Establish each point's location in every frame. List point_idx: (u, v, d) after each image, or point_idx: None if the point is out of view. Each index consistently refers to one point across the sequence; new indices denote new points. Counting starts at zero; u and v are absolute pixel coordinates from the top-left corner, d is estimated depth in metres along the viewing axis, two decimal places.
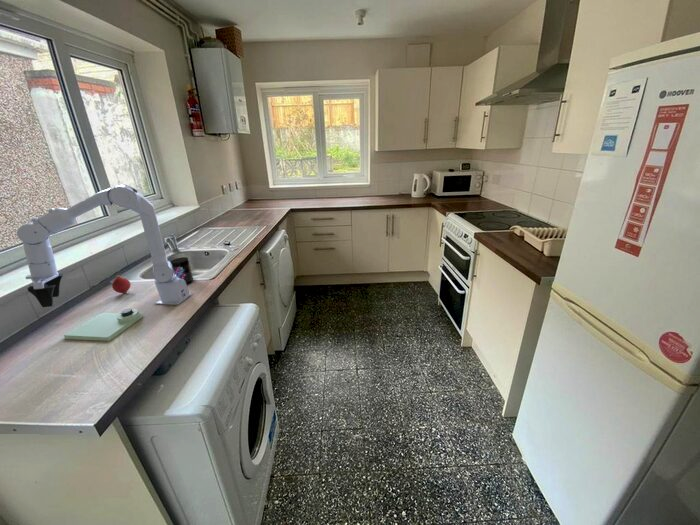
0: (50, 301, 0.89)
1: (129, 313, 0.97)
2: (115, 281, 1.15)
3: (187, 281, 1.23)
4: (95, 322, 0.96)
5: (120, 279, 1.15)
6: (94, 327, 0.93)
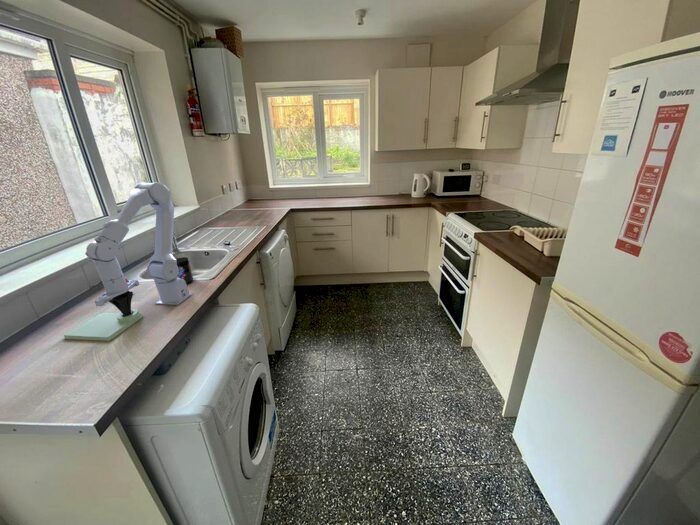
0: (125, 310, 0.96)
1: None
2: None
3: (187, 281, 1.23)
4: (95, 322, 0.96)
5: None
6: (94, 327, 0.93)
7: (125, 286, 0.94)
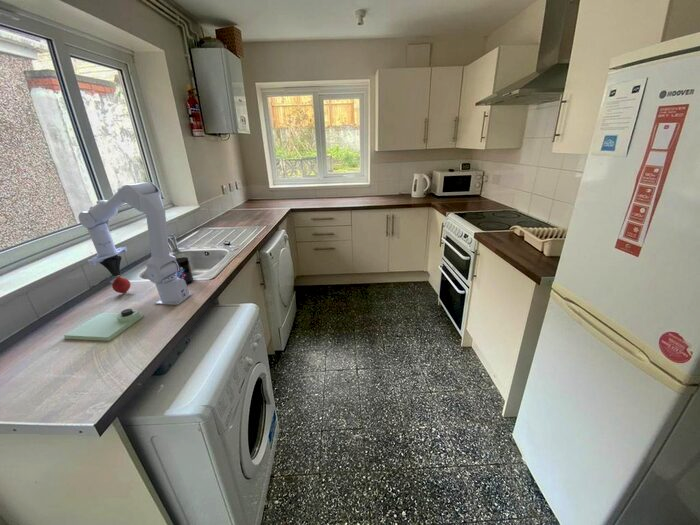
0: (115, 272, 1.11)
1: (129, 313, 0.97)
2: (115, 281, 1.15)
3: (187, 281, 1.23)
4: (95, 322, 0.96)
5: (120, 279, 1.15)
6: (94, 327, 0.93)
7: (114, 250, 1.09)
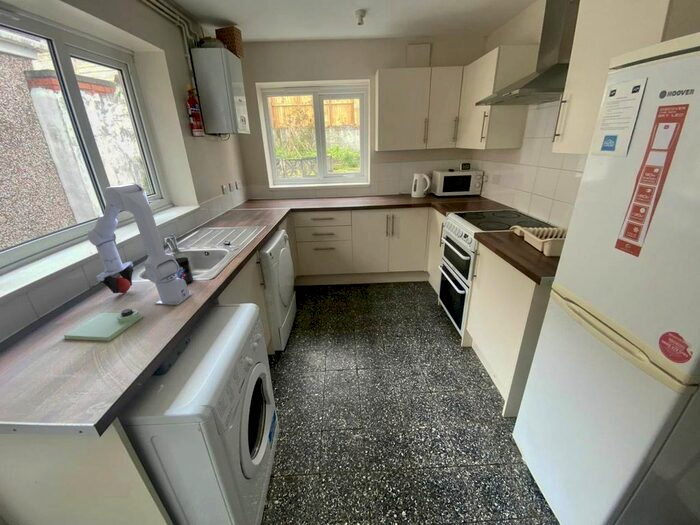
0: (115, 289, 1.14)
1: (129, 313, 0.97)
2: None
3: (187, 281, 1.23)
4: (95, 322, 0.96)
5: (120, 279, 1.15)
6: (94, 327, 0.93)
7: (121, 266, 1.14)
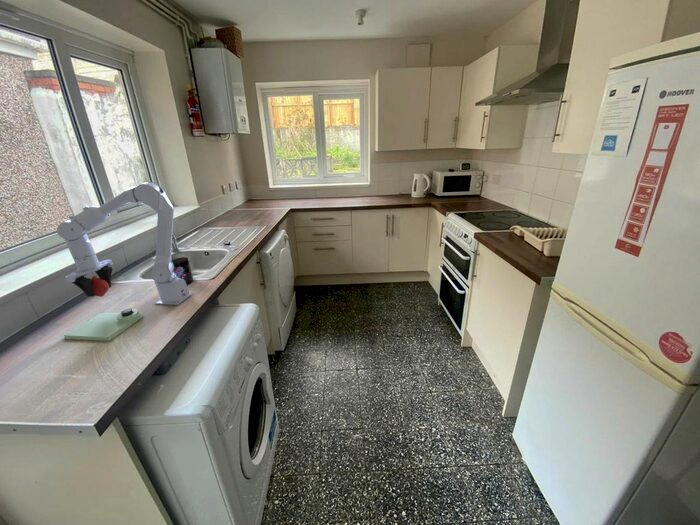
0: (90, 292, 0.97)
1: (129, 313, 0.97)
2: None
3: (187, 281, 1.23)
4: (95, 322, 0.96)
5: (96, 280, 0.98)
6: (94, 327, 0.93)
7: (97, 264, 0.97)
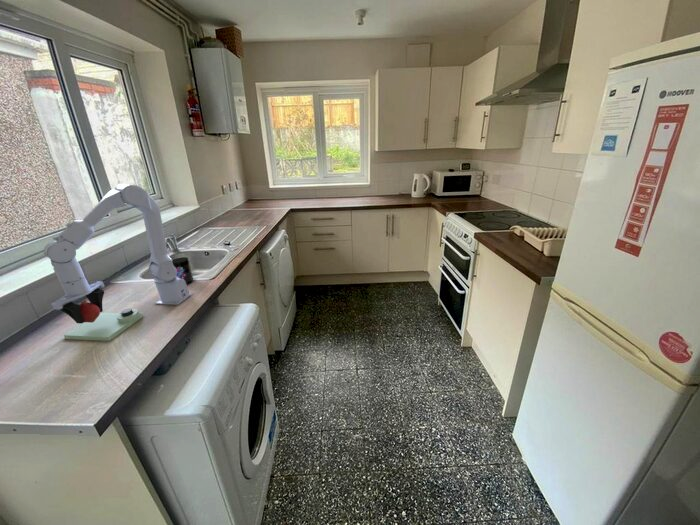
0: (79, 319, 0.88)
1: (129, 313, 0.97)
2: None
3: (187, 281, 1.23)
4: (95, 322, 0.96)
5: (85, 305, 0.90)
6: (94, 327, 0.93)
7: (87, 288, 0.89)
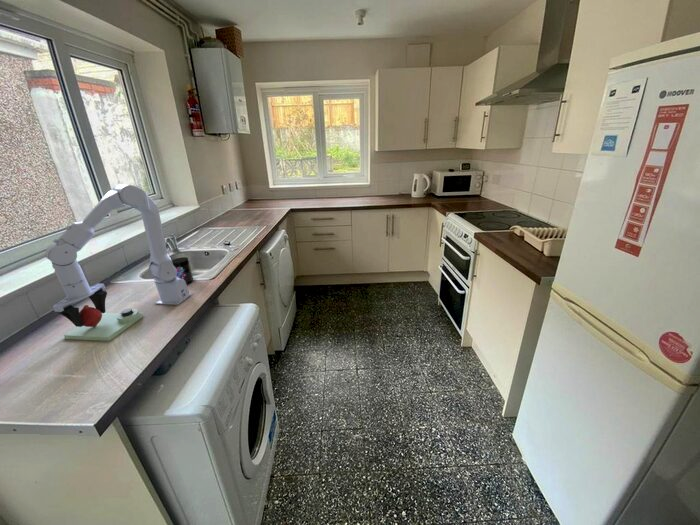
0: (78, 322, 0.88)
1: (129, 313, 0.97)
2: (81, 313, 0.90)
3: (187, 281, 1.23)
4: None
5: (88, 310, 0.91)
6: (94, 327, 0.93)
7: (88, 290, 0.89)
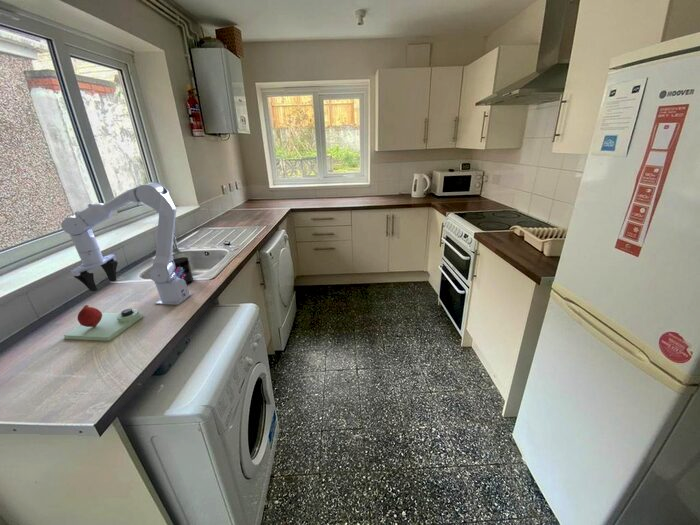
0: (92, 287, 0.98)
1: (129, 313, 0.97)
2: (81, 313, 0.90)
3: (187, 281, 1.23)
4: None
5: (88, 310, 0.91)
6: (94, 327, 0.93)
7: (101, 259, 0.99)
